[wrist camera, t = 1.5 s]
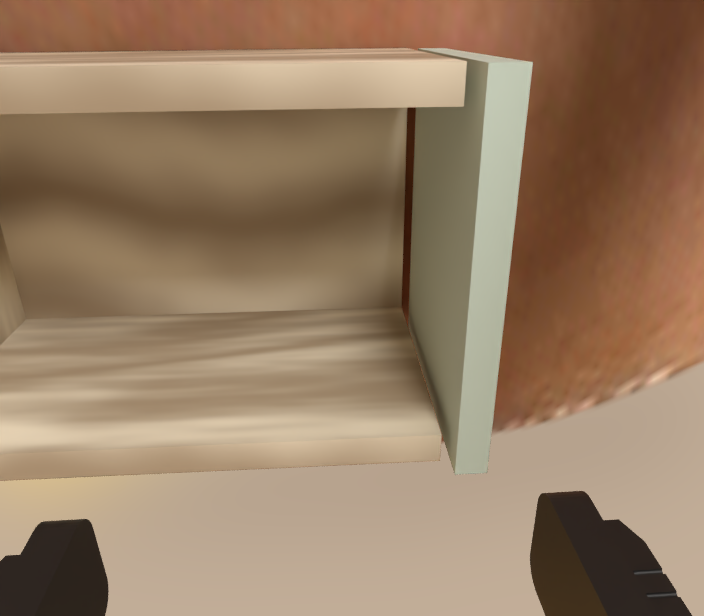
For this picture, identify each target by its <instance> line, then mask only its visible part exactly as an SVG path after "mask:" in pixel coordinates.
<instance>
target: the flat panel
mask: <svg viewBox="0 0 704 616" xmlns="http://www.w3.org/2000/svg"><path fill="white" fill-rule="evenodd" d="M418 51H422V52H427V53H431V54H436V55H440V56H445V57H449V58H454V59H458V60H463V61H467V68H466V83H465V97H464V107H416V117H415V146H414V175H413V203H412V232H411V261H410V289H409V318H408V327H409V330H410V334H411V337H412V340H413V343H414V346H415V350H416V353H417V356H418V359H419V362H420V365H421V369H422V372H423V375H424V378H425V381H426V384H427V388H428V391H429V394H430V397H431V400H432V404H433V407H434V410H435V413H436V416H437V419H438V423H439V426H440V429H441V432H442V435H443V438H444V442H445V445H446V448H447V451H448V454H449V458H450V461H451V464H452V467H453V470H454V473H455V474H476V473H487V470H488V461H489V452H490V443H491V434H492V425H493V416H494V407H495V398H496V389H497V380H498V371H499V362H500V353H501V344H502V335H503V326H504V317H505V308H506V299H507V290H508V281H509V272H510V263H511V254H512V245H513V236H514V227H515V219H516V210H517V201H518V192H519V183H520V174H521V165H522V156H523V147H524V138H525V129H526V120H527V111H528V102H529V93H530V84H531V75H532V66H533V62H529V61H523V60H516V59H510V58H504V57H497V56H491V55H485V54H478V53H472V52H466V51H459V50H453V49H447V48H418Z"/></svg>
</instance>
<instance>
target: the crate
mask: <svg viewBox="0 0 704 616" xmlns="http://www.w3.org/2000/svg"><path fill="white" fill-rule="evenodd" d="M466 68H467V61H463V60H458V59H454V58H449V57H445V56H440V55H436V54H431V53H427V52H422V51H418V50H413V49H409V48H344V49H259V50H175V51H91V52H7V53H0V481H5V480H25V479H26V480H27V479H48V478H71V477H93V476H115V475H137V474H159V473H181V472H201V471H202V472H203V471H224V470H244V469H245V470H247V469H269V468H291V467H312V466H335V465H357V464H378V463H399V462H400V463H401V462H423V461H440V452H441V437H442V434H441V431H440V428H439V425H438V422H437V419H436V415H435V412H434V409H433V406H432V403H431V399H430V396H429V393H428V390H427V387H426V383H425V380H424V377H423V374H422V371H421V367H420V364H419V361H418V358H417V355H416V351H415V348H414V345H413V342H412V339H411V335H410V332H409V329H408V326H407V323H406V319H405V316H404V313H403V310H402V274H403V240H404V205H405V171H406V136H407V107H464V97H465V83H466Z"/></svg>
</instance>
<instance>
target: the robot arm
mask: <svg viewBox="0 0 704 616" xmlns="http://www.w3.org/2000/svg"><path fill="white" fill-rule="evenodd" d="M530 565H531V573H532V579H533V583H534V586H535V590H536V592H537V595H538V597H539V600H540V603H541V605H542V608H543V610H544V613H545V615H546V616H692V615H691V613H690V612H689V610H688V608H687V607H686V605H685V604H684V602H683V601H682V599H681V598H680V597H678V596H677V594H676V590H675V588H674V587H673V586H672V583H671V582H670V581H669V579H668V577H667V576H666V574H663V572H662V568H661V566H660V565H659V563H658V562H657V560H656V559H655V557H654V555H653V554H652V552H651V551H650V549H649V548H648V546H647V544H646V543H645V542H644V541H643V540H642V539H641V538H640V537H639V536H637V535H636V534H635V533H634V532H632V531H631V530H630V529H629V528H628V527H627V526H626V525H624V524H623V523H622V522H621V521H620V520H605V521H604V520H603V519H602V518H601V516H600V514H599V512H598V511H597V509H596V507H595V506H594V504H593V502H592V500H591V499H590V497H589V496H588V495H587V494H586V493H585V492H583V491H573V492H557V493H542V494H541V495H540V496H539V499H538V504H537V511H536V517H535V524H534V531H533V538H532V545H531V553H530ZM107 602H108V581H107V576H106V573H105V569H104V565H103V562H102V558H101V555H100V551H99V548H98V544H97V541H96V537H95V534H94V530H93V527H92V524H91V522H90V521H89V520H87V519H79V520H62V521H45V522H41V523H40V524H39V525H38V526H37V527H36V528H35V530H34V531H33V533H32V535H31V537H30V538H29V541H28V542H27V544H26V546H25V547H24V549H23V551H22V553H21V555H11V556H5V557H4V558H3V559H2V560H1V561H0V616H105V613H106V608H107Z"/></svg>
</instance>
